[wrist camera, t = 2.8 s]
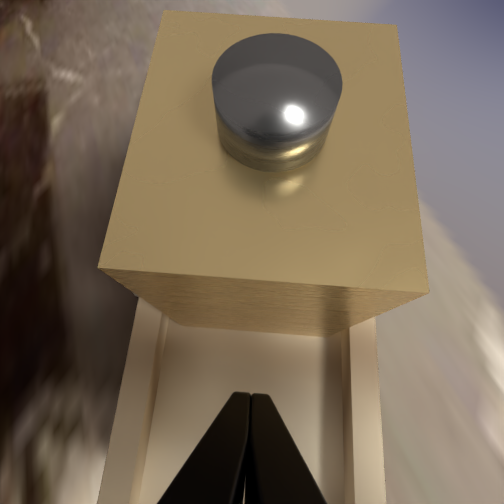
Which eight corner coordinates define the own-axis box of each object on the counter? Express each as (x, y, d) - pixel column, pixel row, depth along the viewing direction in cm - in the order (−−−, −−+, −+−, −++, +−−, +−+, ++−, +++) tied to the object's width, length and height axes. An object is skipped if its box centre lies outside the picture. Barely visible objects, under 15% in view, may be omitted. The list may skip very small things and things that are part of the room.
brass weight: (326, 337, 13) (474, 274, 5) (182, 326, 13) (61, 243, 5) (325, 190, 16) (420, -31, 7) (203, 182, 16) (150, -48, 7)
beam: (370, 517, 12) (406, 560, 10) (113, 495, 12) (74, 530, 10) (350, 75, 20) (367, 28, 18) (194, 65, 21) (186, 16, 18)
